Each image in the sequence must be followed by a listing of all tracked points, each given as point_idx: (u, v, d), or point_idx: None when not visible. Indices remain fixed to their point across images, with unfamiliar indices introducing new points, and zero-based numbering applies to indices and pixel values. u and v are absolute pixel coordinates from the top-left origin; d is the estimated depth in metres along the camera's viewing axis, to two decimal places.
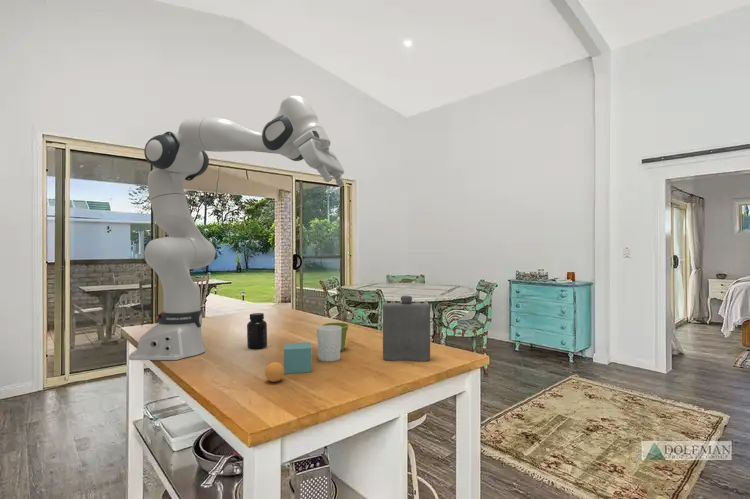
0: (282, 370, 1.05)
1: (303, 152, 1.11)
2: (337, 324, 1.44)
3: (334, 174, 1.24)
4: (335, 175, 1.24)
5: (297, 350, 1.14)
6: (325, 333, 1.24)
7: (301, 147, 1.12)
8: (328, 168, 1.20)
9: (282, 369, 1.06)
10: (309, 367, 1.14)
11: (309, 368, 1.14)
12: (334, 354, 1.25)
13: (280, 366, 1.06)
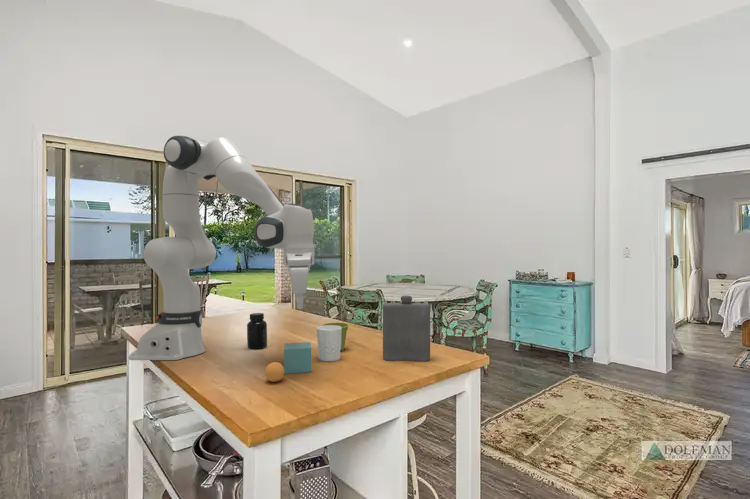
0: (282, 370, 1.05)
1: (294, 278, 1.07)
2: (337, 324, 1.44)
3: None
4: None
5: (297, 350, 1.14)
6: (325, 333, 1.24)
7: (294, 271, 1.08)
8: None
9: (282, 369, 1.06)
10: (309, 367, 1.14)
11: (309, 368, 1.14)
12: (334, 354, 1.25)
13: (280, 366, 1.06)
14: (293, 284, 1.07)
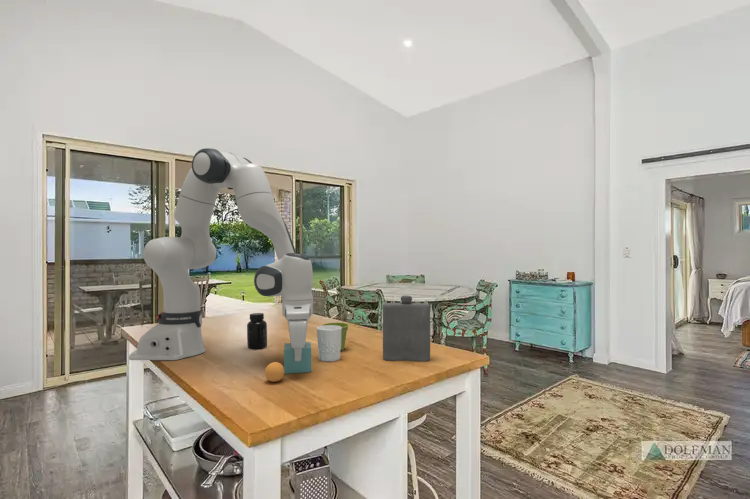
0: (282, 370, 1.05)
1: (293, 332, 1.07)
2: (337, 324, 1.44)
3: None
4: None
5: None
6: (325, 333, 1.24)
7: (293, 325, 1.08)
8: None
9: (282, 369, 1.06)
10: (309, 367, 1.14)
11: (309, 368, 1.14)
12: (334, 354, 1.25)
13: (280, 366, 1.06)
14: (292, 339, 1.07)
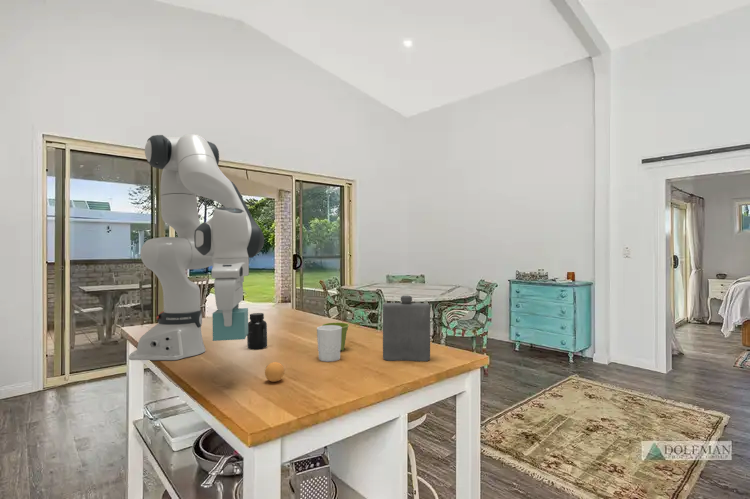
0: (282, 370, 1.05)
1: (218, 292, 0.94)
2: (337, 324, 1.44)
3: None
4: None
5: None
6: (325, 333, 1.24)
7: (219, 284, 0.95)
8: None
9: (282, 369, 1.06)
10: (242, 334, 1.01)
11: (242, 335, 1.01)
12: (334, 354, 1.25)
13: (280, 366, 1.06)
14: (217, 299, 0.94)
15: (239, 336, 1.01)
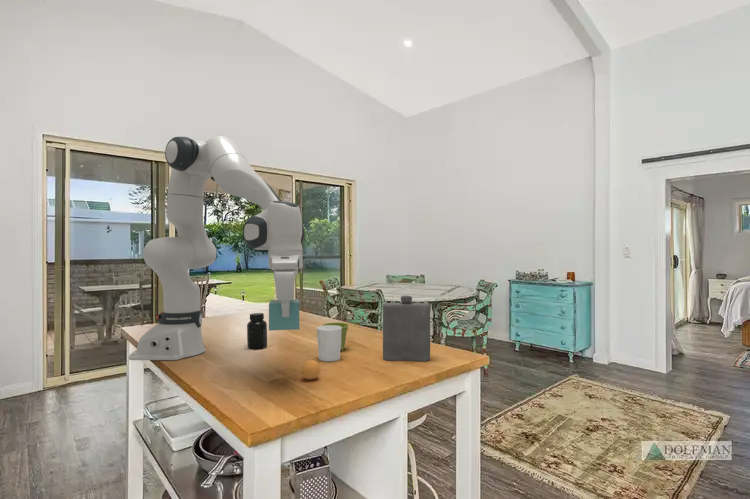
0: (303, 369, 1.06)
1: (279, 283, 0.97)
2: (337, 324, 1.44)
3: None
4: None
5: None
6: (325, 333, 1.24)
7: (279, 275, 0.97)
8: None
9: (302, 369, 1.07)
10: (297, 324, 1.03)
11: (297, 325, 1.03)
12: (334, 354, 1.25)
13: (302, 373, 1.07)
14: (278, 290, 0.96)
15: (294, 326, 1.03)
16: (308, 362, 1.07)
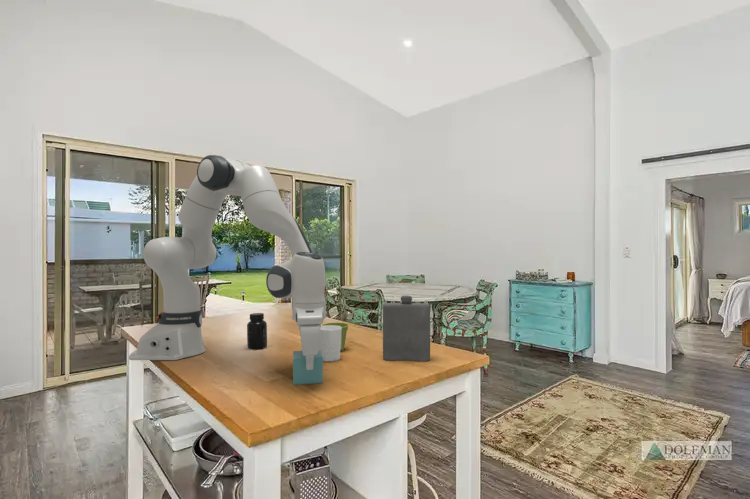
0: None
1: (305, 339, 0.98)
2: (337, 324, 1.44)
3: None
4: None
5: None
6: (325, 333, 1.24)
7: (305, 330, 0.99)
8: None
9: None
10: (320, 377, 1.05)
11: (320, 379, 1.05)
12: (334, 354, 1.25)
13: None
14: (303, 346, 0.98)
15: (317, 380, 1.05)
16: None
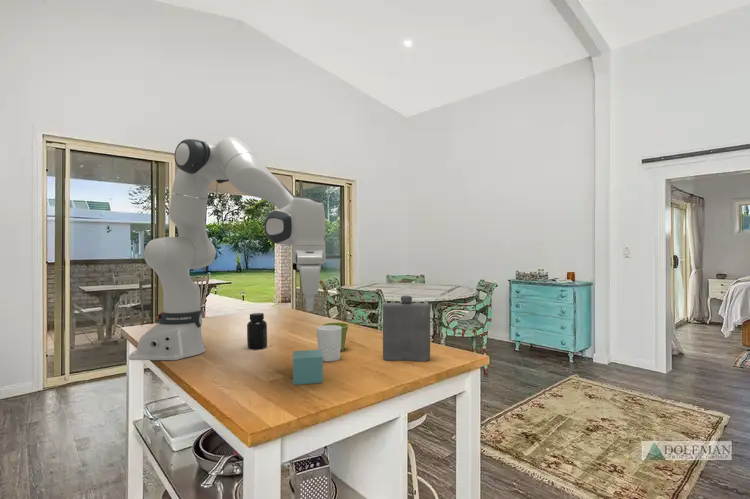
0: None
1: (305, 277, 0.98)
2: (337, 324, 1.44)
3: None
4: None
5: (307, 359, 1.04)
6: (325, 333, 1.24)
7: (305, 269, 0.99)
8: None
9: None
10: (320, 377, 1.05)
11: (320, 379, 1.05)
12: (334, 354, 1.25)
13: None
14: (304, 284, 0.98)
15: (317, 380, 1.05)
16: None
